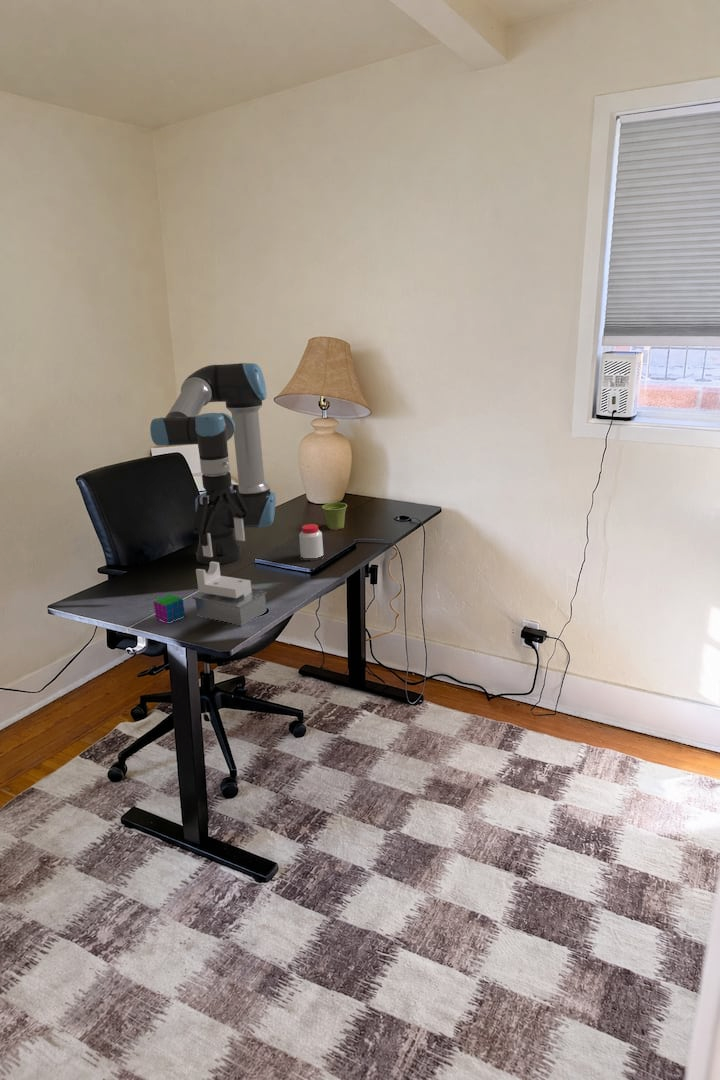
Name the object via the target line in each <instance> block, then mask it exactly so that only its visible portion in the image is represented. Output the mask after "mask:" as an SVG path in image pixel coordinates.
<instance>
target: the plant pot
mask: <svg viewBox="0 0 720 1080" xmlns="http://www.w3.org/2000/svg"><path fill="white" fill-rule="evenodd" d="M347 507H348V504H346V503H344V502H329V503H326V504H323V505H322V506H321V508H322V509H323V512H324V516H325V520H326V524H327V525H326V526H327V528H328V529H329V530H331V531H338V530H341V529H344V527H345V520H346V519H345V518H346V517H345V516H346V510H347Z"/></svg>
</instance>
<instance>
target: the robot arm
mask: <svg viewBox="0 0 720 1080" xmlns="http://www.w3.org/2000/svg"><path fill="white" fill-rule="evenodd" d="M266 399H267V386H266V382H265V377H264V374H263V371H262V368H261V367H260V365H258V364H257V363H253V362H251V363H249V362H248V363H247V362H240V363H227V364H226V363H225V364H211V365H207V366H204V367H201V368H198V369H197V370H196V371H194V372H193V373H191V374H190V375H188V376H187V378H185V380H184V381H183V382H182V385H181V387H180V394H179V395H178V397H177V398H176V400H175V402H174V404H172V406H171V408H170V410H169V411H168V413H167V414H166V416H165V417H158V418H156V417H155V418H153V419H152V420H151V422H150V426H149V428H150V429H149V430H150V431H149V432H150V437H151V438H150V439H151V441H152V443H153V444H155V445H156V446H166V447H168V446H184V445H197V446H198V455H199V464H200V472H201V473H202V476H201V481H202V487H203V488H204V490H205V492H202V493H201V494H199V495H197V497H195V500H194V502H195V505H194V506H195V510H194V511H195V517H194V522H193V528H192V533H193V534H197V535H198V538H199V539H198V544H197V548H196V553H195V555H196V561H197V562H198V563H199V564H203V565H209V566H210V562H219V565H224V564H229V563H232V562H235V561H237V560H239V559H240V558H241V556H242V552H241V551H242V550H241V547H240V546H239V544H238V541H240V542H245V541H246V537H245V535H246V534H245V529H248V528H249V529H252V528H254V529H255V528H258V529H261V528H267V527H270V526H272V524H273V522H274V519H275V512H276V493H275V492H273V491H271V490H270V489H271V488H270V485H269V484H267V483H266V482H265V473H264V471H265V470H264V461H263V451H262V440H261V427H260V418H259V410H260V409H261V408H262V406H263V401H265V400H266ZM222 402H223V403H224V402H225V408H226V409H227V410H228V411H229V412H230V413H231V415H229V414H227V413H224V412H208V413H206V412H205V413H201V414H200V412H201V411H202V409H203V407H205V406H207V405H208V404H209V403H222ZM232 437H233V441H234V450H235V461H236V462H235V463H236V469H237V479H238V480H237V481H238V484H233V482H232V477H231V476H232V475H231V472H230V471H231V470H230V469H231V467H230V460H229V449H228V441H230V440H231V439H232ZM234 532H235V533H234Z"/></svg>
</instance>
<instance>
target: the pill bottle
mask: <svg viewBox="0 0 720 1080" xmlns="http://www.w3.org/2000/svg"><path fill="white" fill-rule="evenodd" d="M298 538H299V552H300V558H301V557H303V558H318V557H321V556H323V555H324V544H323V543H324V542H323V532H322V531H321V530H320V529H319V525H317V524H316V523H308V524H304V525H302V526H301V532H299V534H298Z"/></svg>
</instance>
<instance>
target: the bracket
mask: <svg viewBox="0 0 720 1080" xmlns="http://www.w3.org/2000/svg"><path fill="white" fill-rule="evenodd" d="M220 566H221V565H220V564H219V562H210V565H209V566H208V567H209V568H208V570H207V571H206V569H203V568H196V569H195V573H196V574H195V575H196V580H197V590H198V593H201V592H202V593H208V594H214V595H220V596H225V597H231V598H238V597H239V596H243V597H245V596H246V595H248V594H249V593H251V592H252V590H251V588H252V581H251V579H250V580H249V579H243V578H237V577H233V576H225V575H221V568H220Z"/></svg>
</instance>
